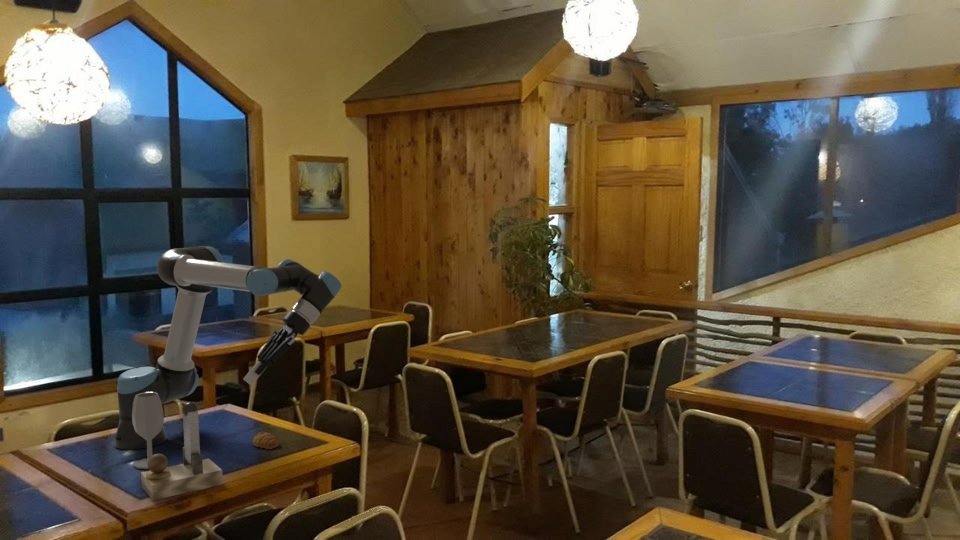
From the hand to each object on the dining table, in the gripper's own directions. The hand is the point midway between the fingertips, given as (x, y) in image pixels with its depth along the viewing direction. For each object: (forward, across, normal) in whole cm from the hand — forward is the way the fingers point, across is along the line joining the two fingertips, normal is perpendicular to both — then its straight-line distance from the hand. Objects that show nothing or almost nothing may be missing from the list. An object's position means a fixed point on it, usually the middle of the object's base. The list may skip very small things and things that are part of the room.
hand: (247, 382), depth 216 cm
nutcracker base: (+32, 0, -5) cm, 32 cm away
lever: (+25, 0, -3) cm, 25 cm away
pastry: (+10, +20, -27) cm, 35 cm away
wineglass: (+34, +24, -3) cm, 41 cm away
